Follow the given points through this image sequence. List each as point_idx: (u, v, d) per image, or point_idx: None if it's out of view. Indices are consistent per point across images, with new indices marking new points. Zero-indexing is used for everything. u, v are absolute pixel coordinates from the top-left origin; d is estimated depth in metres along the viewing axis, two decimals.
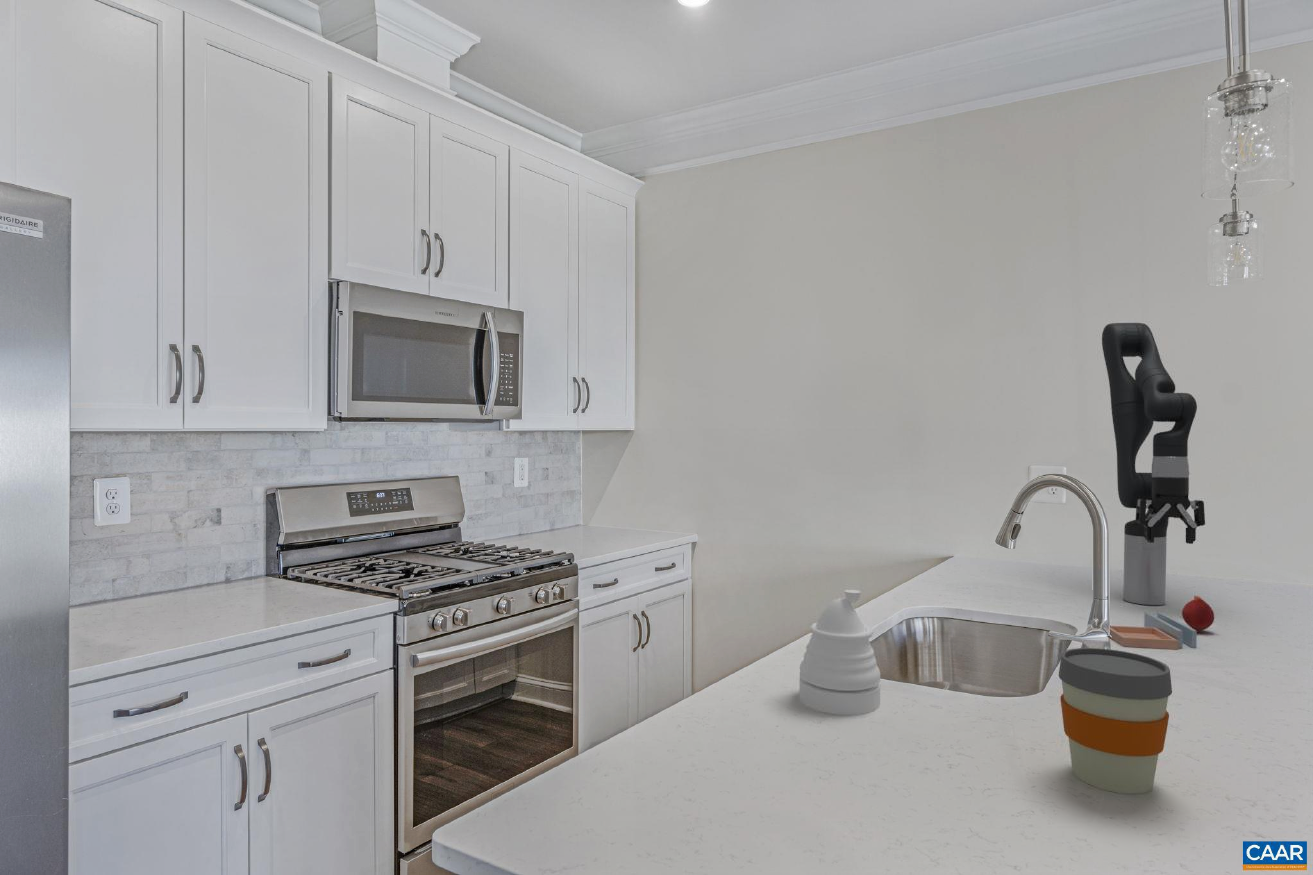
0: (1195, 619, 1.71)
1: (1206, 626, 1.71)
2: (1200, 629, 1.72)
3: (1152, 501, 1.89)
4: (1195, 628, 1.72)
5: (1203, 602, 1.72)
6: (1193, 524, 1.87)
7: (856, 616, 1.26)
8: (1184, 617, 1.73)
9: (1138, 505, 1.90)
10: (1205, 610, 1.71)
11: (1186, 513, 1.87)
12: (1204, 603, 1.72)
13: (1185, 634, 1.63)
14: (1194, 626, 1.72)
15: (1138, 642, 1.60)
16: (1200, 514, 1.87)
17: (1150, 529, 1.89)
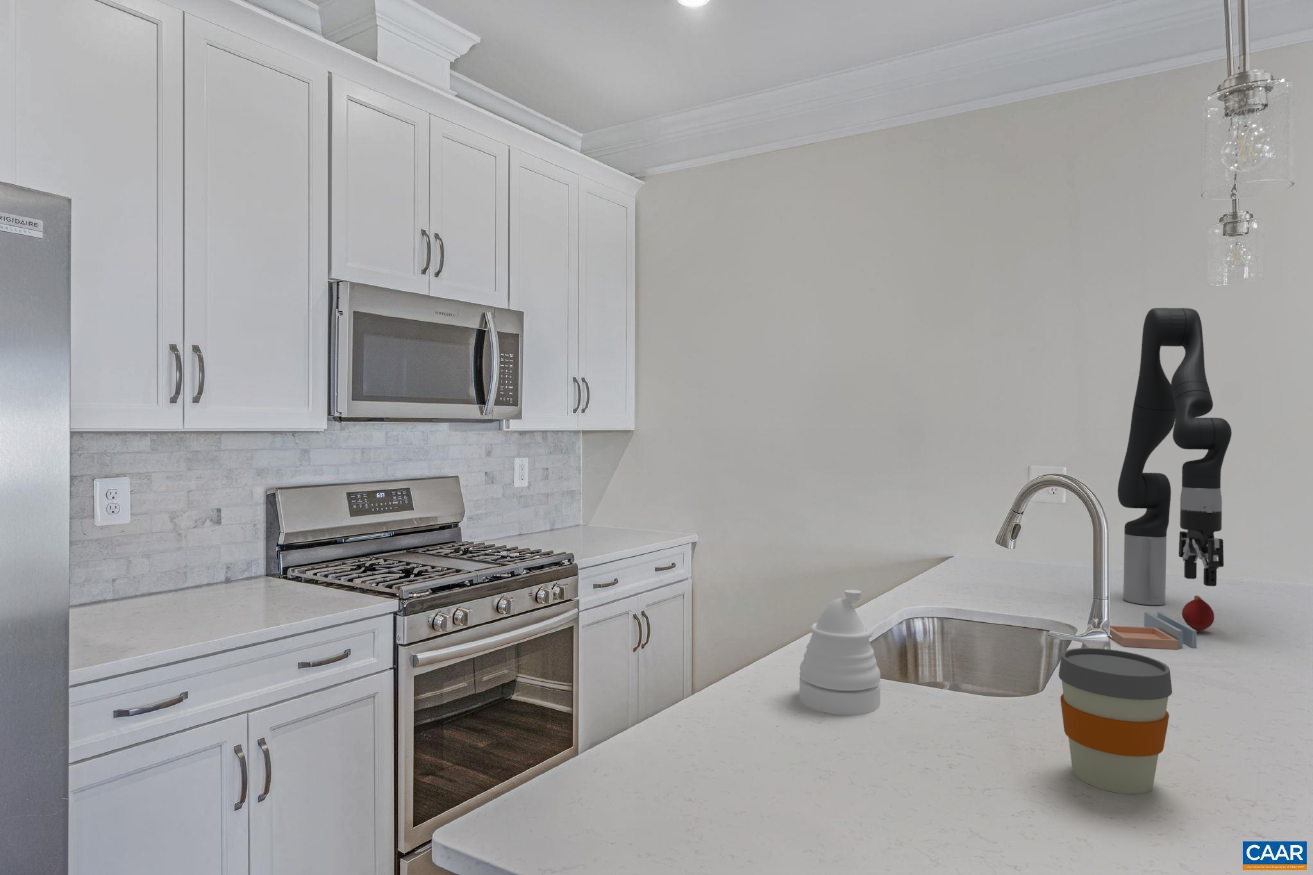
0: (1195, 619, 1.71)
1: (1206, 626, 1.71)
2: (1200, 629, 1.72)
3: None
4: (1195, 628, 1.72)
5: (1203, 602, 1.72)
6: None
7: (856, 616, 1.26)
8: (1184, 617, 1.73)
9: (1216, 546, 1.66)
10: (1205, 610, 1.71)
11: None
12: (1204, 603, 1.72)
13: (1185, 634, 1.63)
14: (1194, 626, 1.72)
15: (1138, 642, 1.60)
16: None
17: None
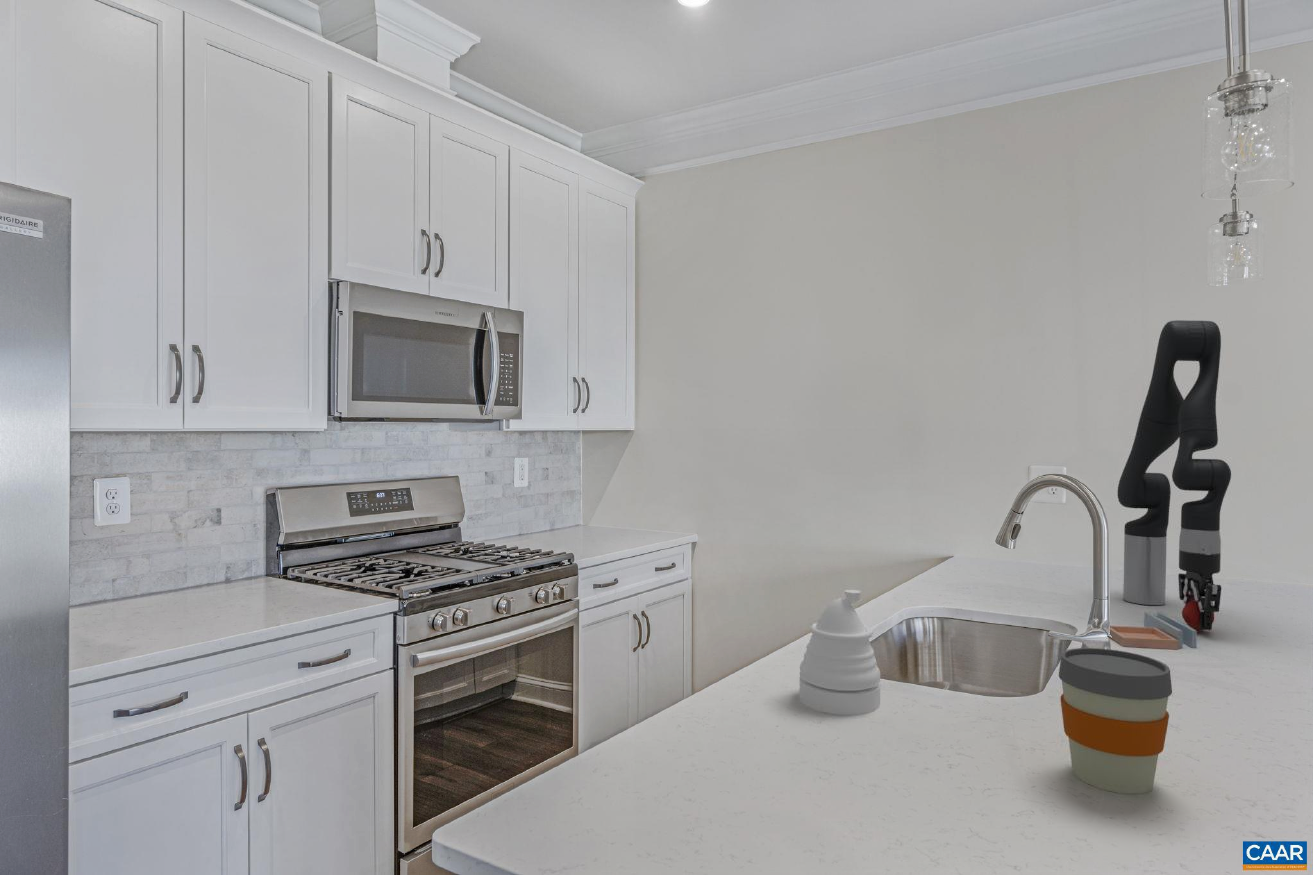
0: (1195, 619, 1.71)
1: None
2: (1200, 629, 1.72)
3: (1212, 583, 1.69)
4: (1195, 628, 1.72)
5: (1203, 602, 1.72)
6: None
7: (856, 616, 1.26)
8: (1184, 617, 1.73)
9: (1214, 592, 1.66)
10: None
11: None
12: None
13: (1185, 634, 1.63)
14: (1194, 626, 1.72)
15: (1138, 642, 1.60)
16: None
17: None
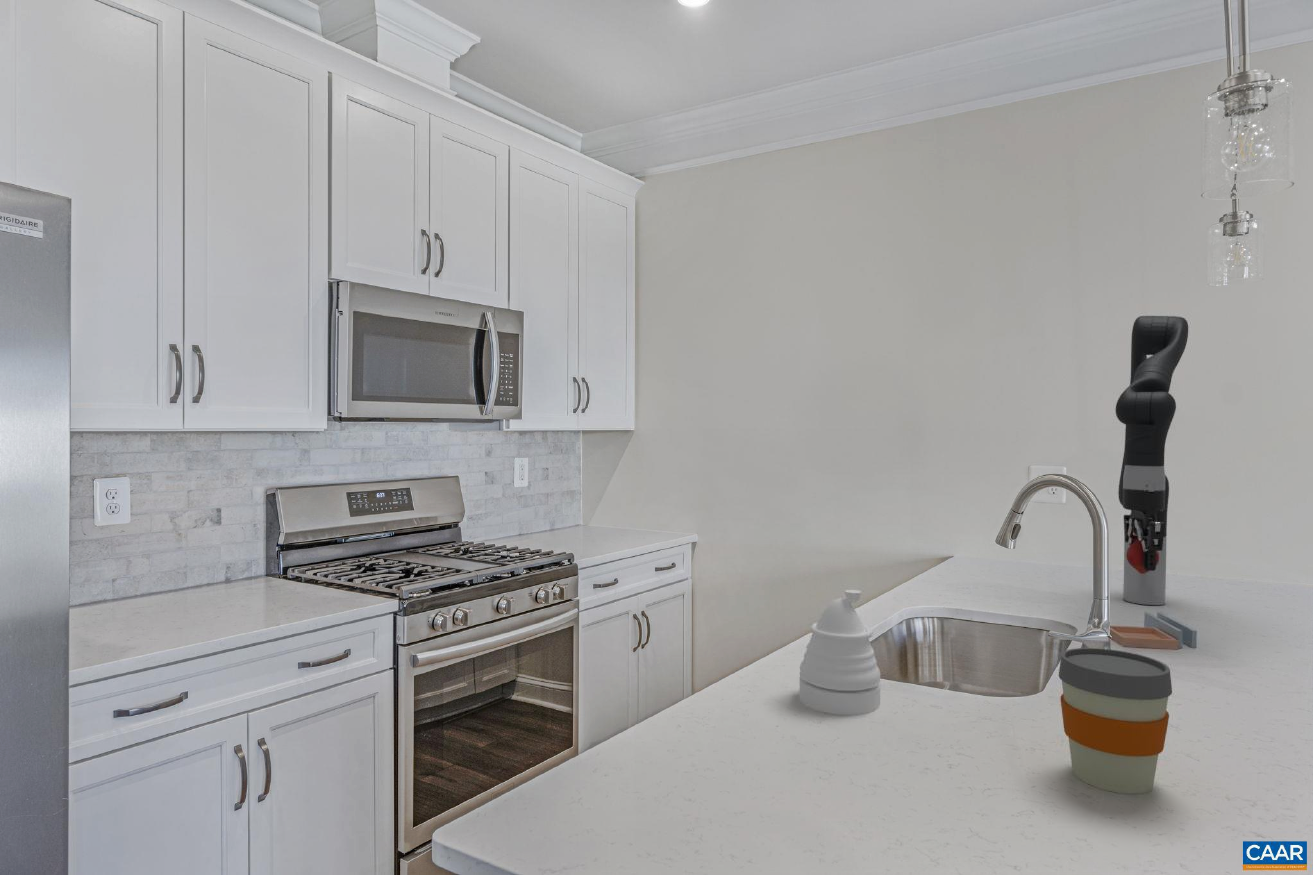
0: (1139, 559, 1.63)
1: None
2: (1144, 570, 1.63)
3: (1156, 520, 1.60)
4: (1139, 570, 1.64)
5: None
6: None
7: (856, 616, 1.26)
8: (1128, 558, 1.65)
9: (1157, 530, 1.58)
10: None
11: None
12: None
13: (1185, 634, 1.63)
14: (1138, 567, 1.64)
15: (1138, 642, 1.60)
16: None
17: (1154, 555, 1.61)
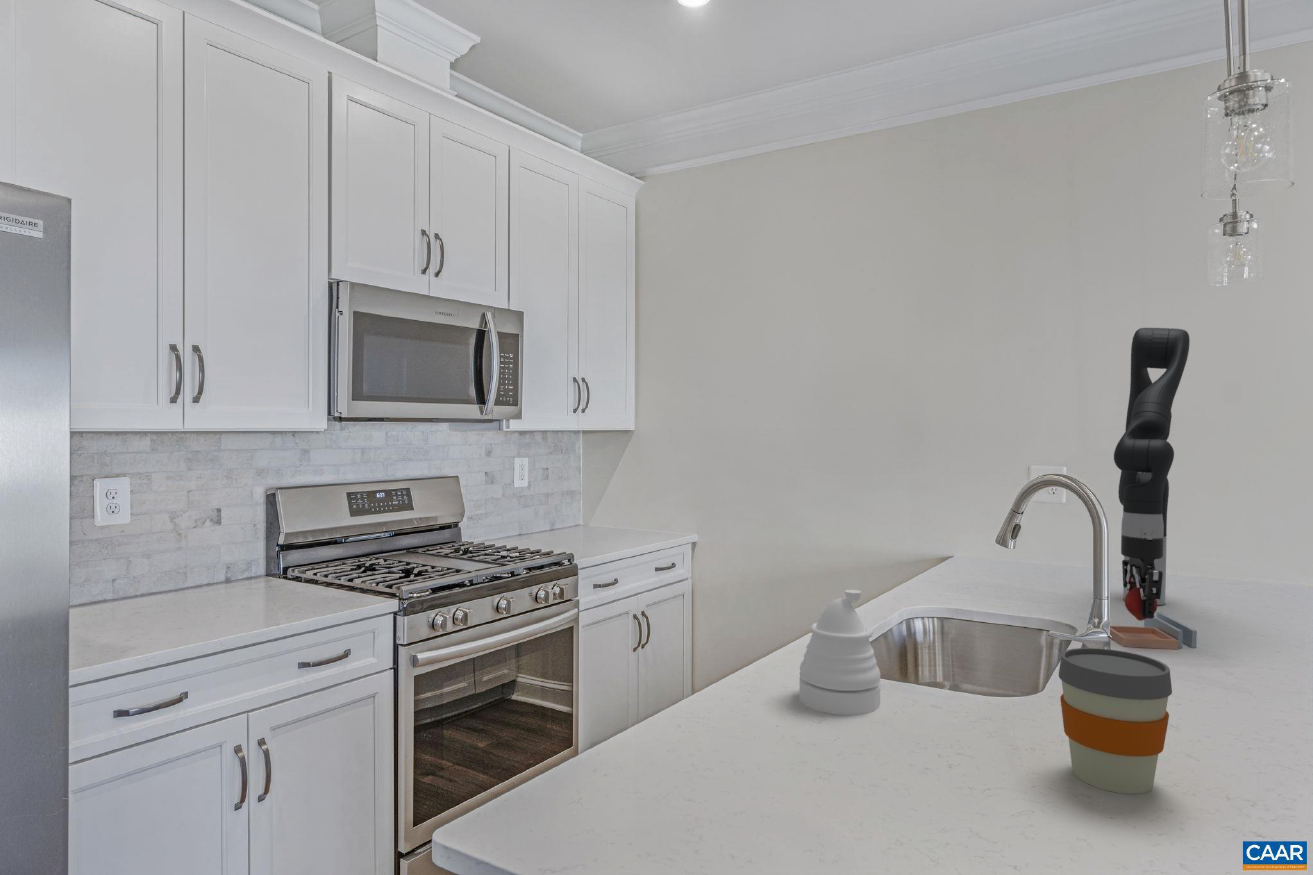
0: (1137, 606, 1.63)
1: None
2: (1143, 618, 1.64)
3: (1154, 569, 1.61)
4: (1138, 617, 1.64)
5: None
6: None
7: (856, 616, 1.26)
8: (1126, 605, 1.65)
9: (1155, 579, 1.58)
10: None
11: None
12: None
13: (1185, 634, 1.63)
14: (1136, 614, 1.64)
15: (1138, 642, 1.60)
16: None
17: None
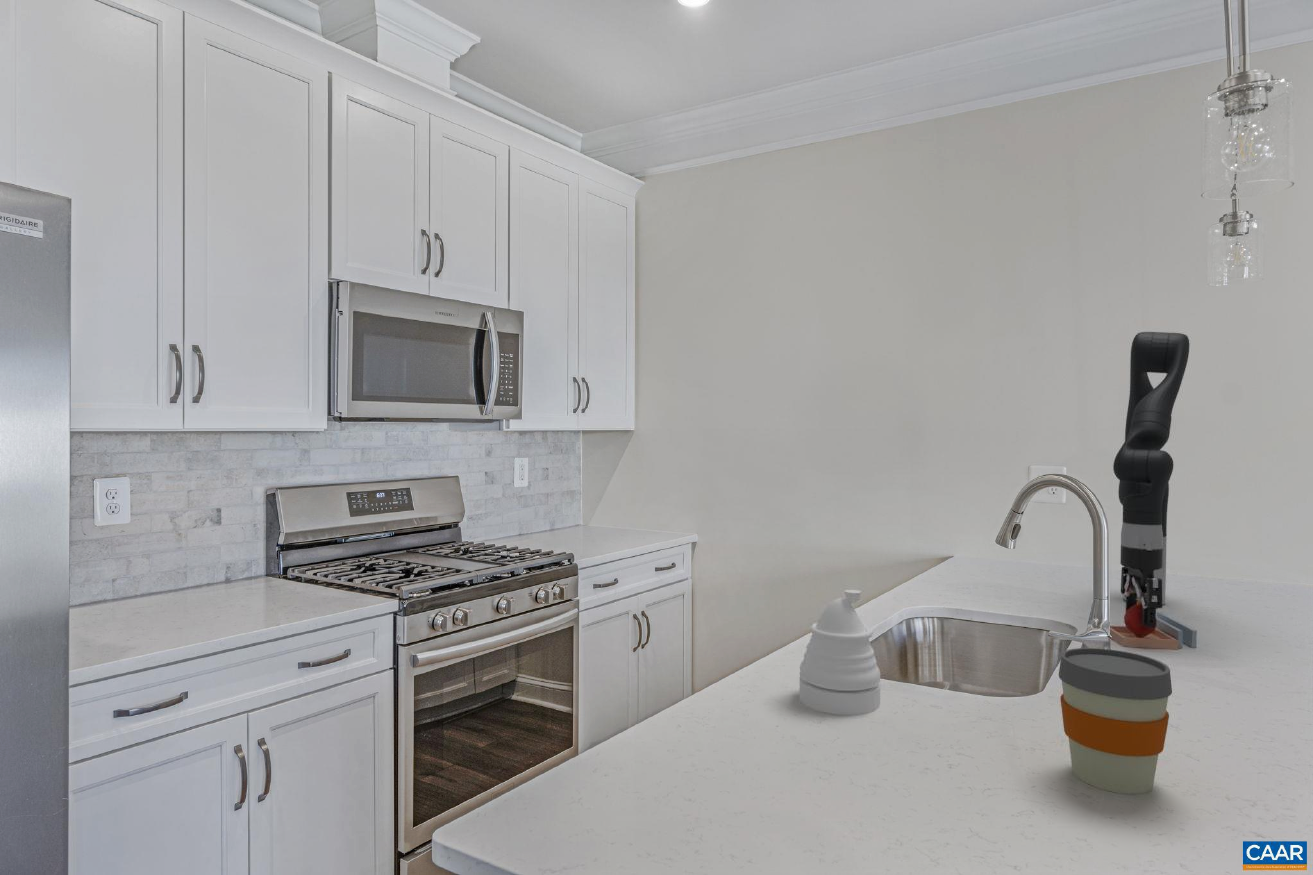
0: (1136, 625, 1.63)
1: (1148, 632, 1.63)
2: (1142, 635, 1.64)
3: None
4: (1137, 634, 1.64)
5: None
6: None
7: (856, 616, 1.26)
8: (1126, 623, 1.65)
9: (1155, 586, 1.58)
10: None
11: None
12: None
13: (1185, 634, 1.63)
14: (1136, 632, 1.64)
15: (1138, 642, 1.60)
16: None
17: (1154, 612, 1.60)
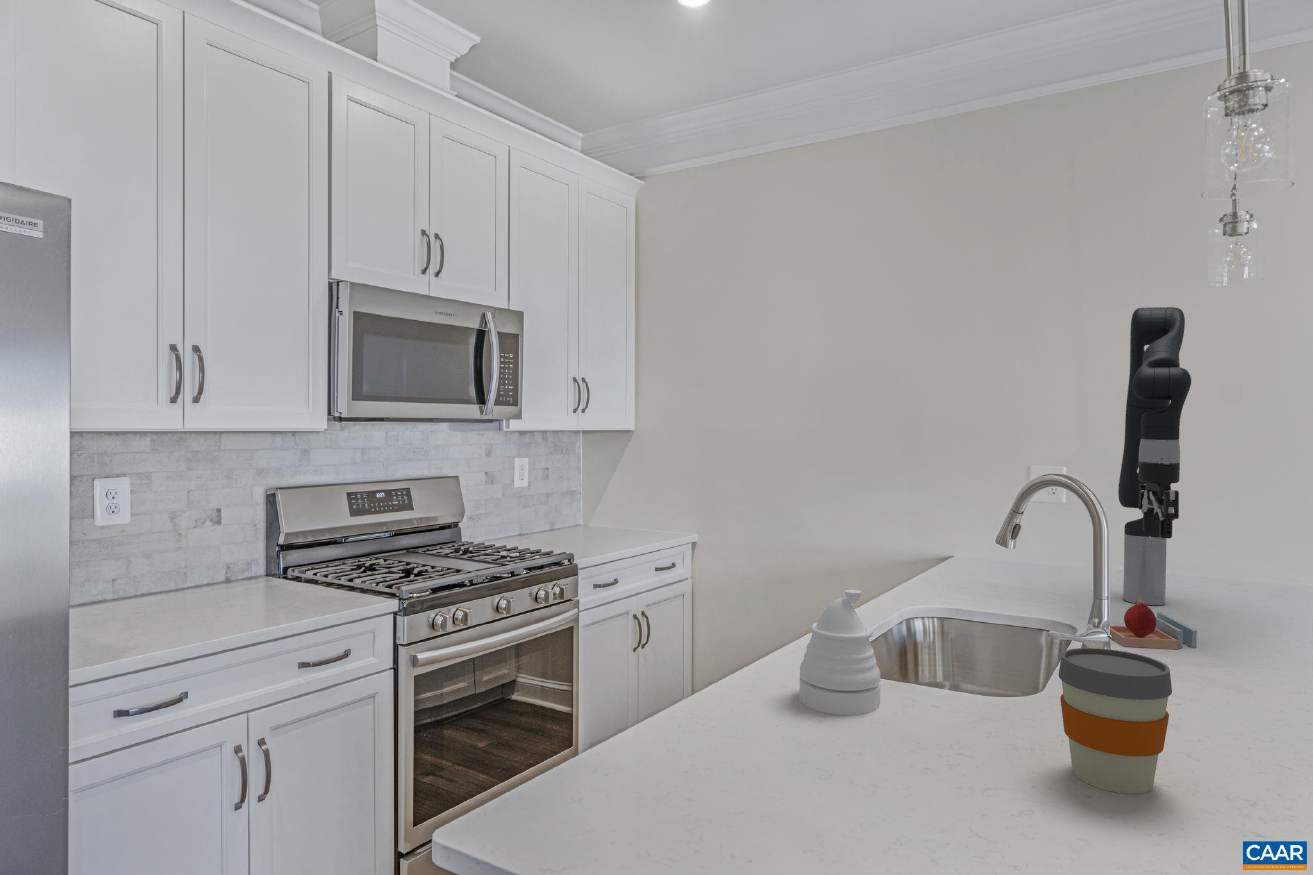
0: (1136, 624, 1.63)
1: (1148, 632, 1.63)
2: (1142, 635, 1.64)
3: None
4: (1137, 634, 1.64)
5: (1145, 607, 1.64)
6: (1154, 510, 1.75)
7: (856, 616, 1.26)
8: (1126, 623, 1.65)
9: (1171, 498, 1.64)
10: (1146, 615, 1.63)
11: None
12: (1146, 608, 1.64)
13: (1185, 634, 1.63)
14: (1136, 632, 1.64)
15: (1138, 642, 1.60)
16: None
17: None
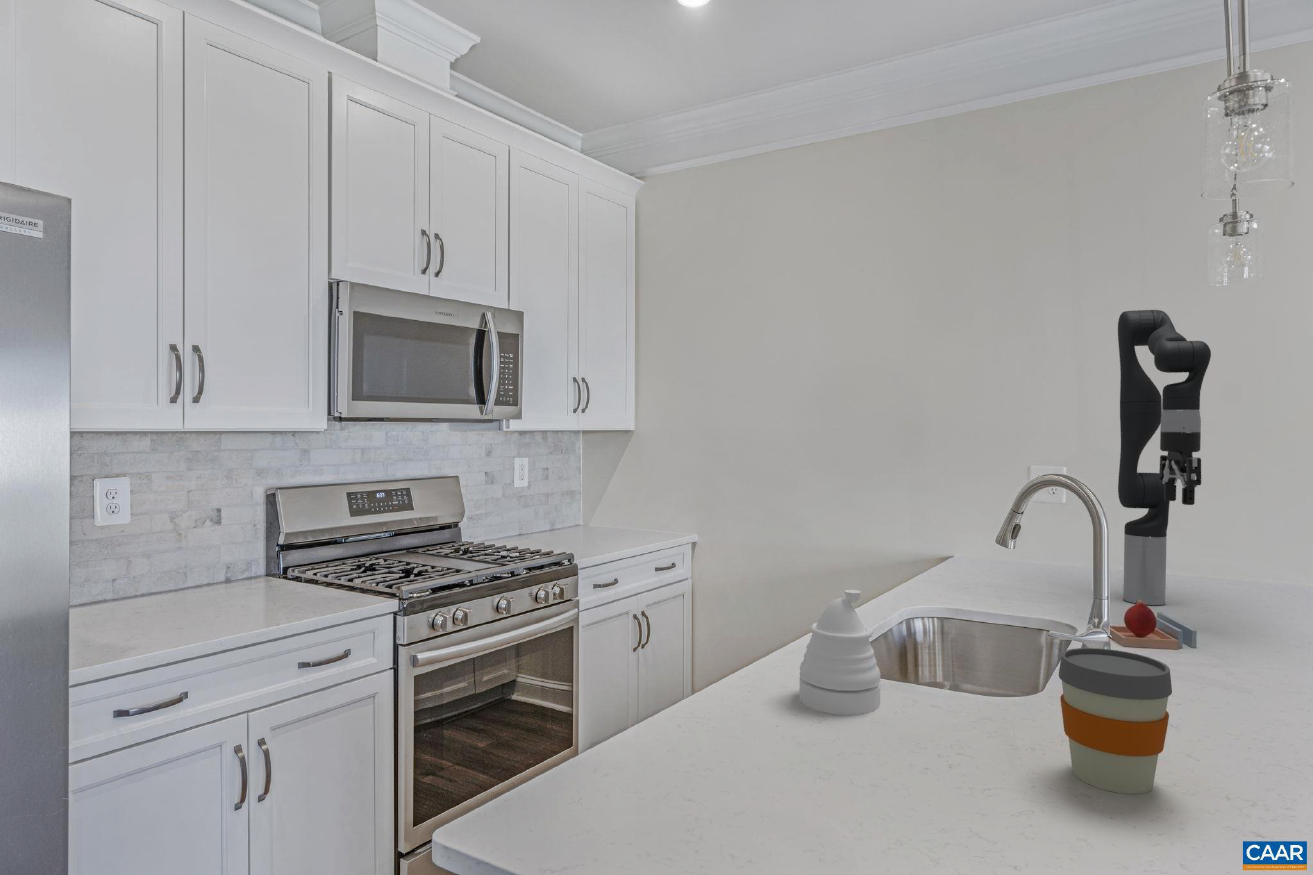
0: (1136, 624, 1.63)
1: (1148, 632, 1.63)
2: (1142, 635, 1.64)
3: None
4: (1137, 634, 1.64)
5: (1145, 607, 1.64)
6: None
7: (856, 616, 1.26)
8: (1126, 623, 1.65)
9: (1194, 464, 1.69)
10: (1146, 615, 1.63)
11: None
12: (1146, 608, 1.64)
13: (1185, 634, 1.63)
14: (1136, 632, 1.64)
15: (1138, 642, 1.60)
16: None
17: (1193, 490, 1.71)
